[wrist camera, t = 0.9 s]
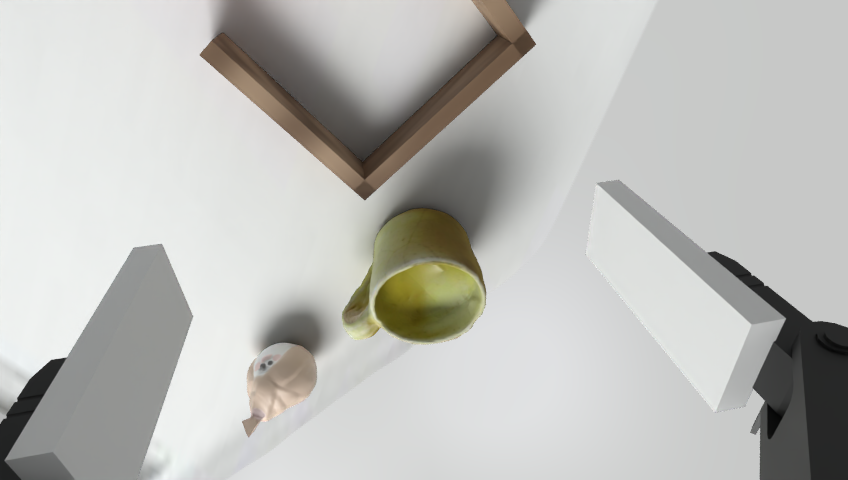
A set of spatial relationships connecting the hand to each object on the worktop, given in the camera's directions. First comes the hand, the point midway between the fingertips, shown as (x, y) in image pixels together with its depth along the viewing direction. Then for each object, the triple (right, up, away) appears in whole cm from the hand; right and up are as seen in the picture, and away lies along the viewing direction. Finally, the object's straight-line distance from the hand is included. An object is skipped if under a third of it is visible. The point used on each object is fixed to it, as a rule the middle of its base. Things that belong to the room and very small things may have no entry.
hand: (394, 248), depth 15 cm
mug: (-1, -1, +29) cm, 29 cm away
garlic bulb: (-13, -11, +33) cm, 37 cm away
